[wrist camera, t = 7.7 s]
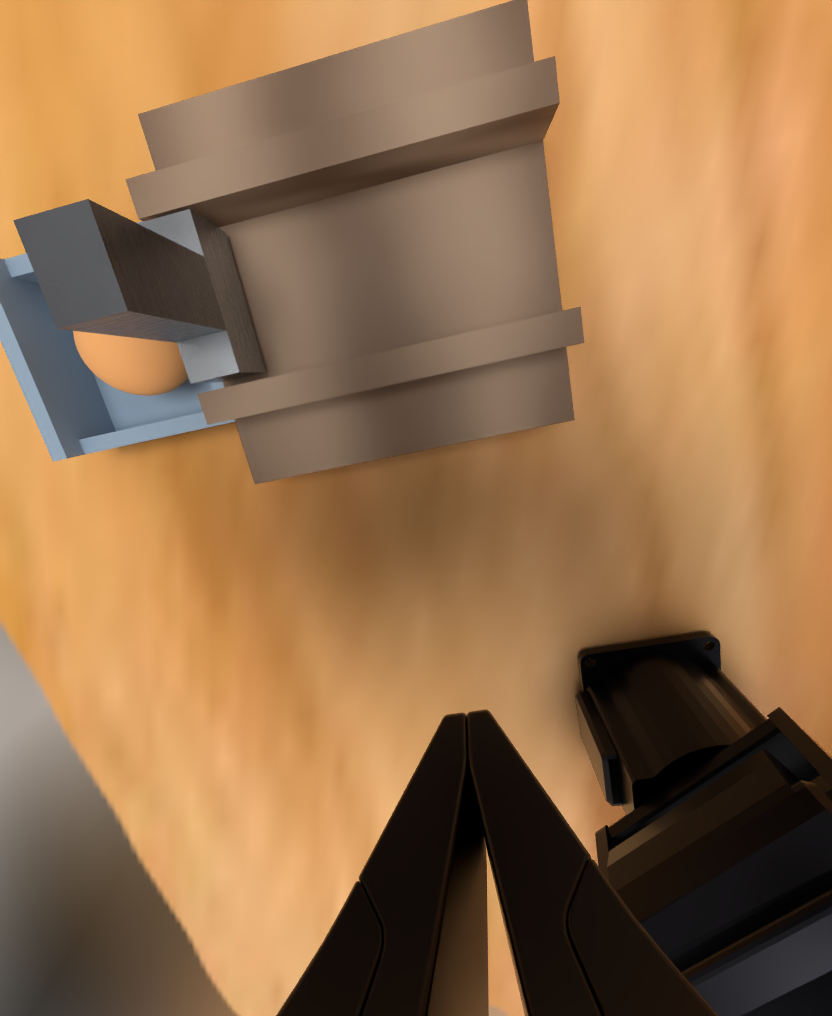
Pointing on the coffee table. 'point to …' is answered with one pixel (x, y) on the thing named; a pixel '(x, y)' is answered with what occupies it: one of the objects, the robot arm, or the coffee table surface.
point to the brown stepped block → (382, 242)
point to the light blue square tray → (80, 380)
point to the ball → (132, 362)
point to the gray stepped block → (146, 284)
